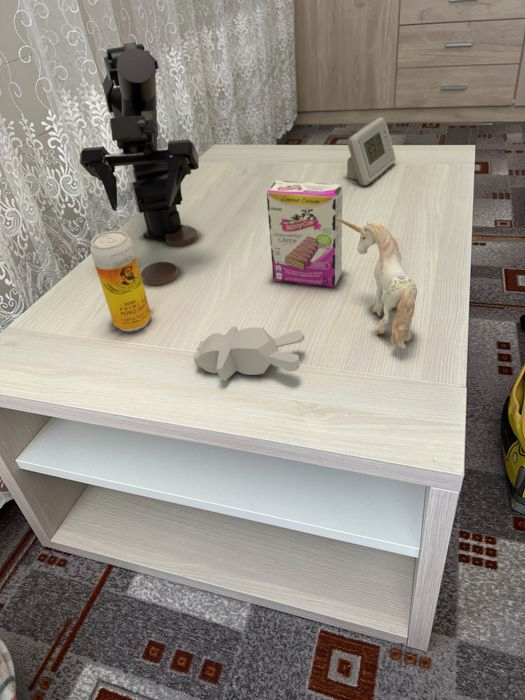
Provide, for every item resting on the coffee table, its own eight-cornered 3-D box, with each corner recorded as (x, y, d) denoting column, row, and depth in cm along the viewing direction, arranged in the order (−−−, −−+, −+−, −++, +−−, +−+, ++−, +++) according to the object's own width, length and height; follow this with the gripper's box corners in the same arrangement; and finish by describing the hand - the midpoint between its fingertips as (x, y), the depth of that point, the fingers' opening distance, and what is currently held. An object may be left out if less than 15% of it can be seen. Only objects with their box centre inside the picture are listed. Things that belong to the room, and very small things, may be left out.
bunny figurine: (202, 321, 81) (302, 313, 77) (211, 348, 84) (308, 342, 80) (184, 362, 74) (294, 357, 70) (195, 390, 77) (300, 386, 73)
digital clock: (364, 189, 122) (365, 140, 115) (332, 180, 127) (332, 133, 120) (407, 166, 130) (410, 119, 123) (375, 158, 135) (377, 113, 129)
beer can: (130, 338, 86) (104, 253, 76) (107, 325, 89) (79, 242, 80) (159, 319, 89) (138, 235, 80) (136, 307, 93) (113, 225, 83)
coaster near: (135, 281, 99) (133, 276, 98) (156, 264, 103) (155, 259, 103) (163, 288, 97) (162, 282, 96) (184, 270, 101) (183, 265, 100)
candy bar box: (272, 282, 95) (264, 191, 85) (281, 268, 99) (274, 179, 88) (336, 289, 92) (335, 196, 81) (342, 274, 95) (343, 182, 85)
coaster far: (159, 243, 110) (158, 238, 109) (178, 229, 114) (176, 224, 113) (186, 248, 107) (184, 243, 107) (203, 234, 112) (202, 228, 111)
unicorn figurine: (375, 281, 92) (378, 207, 84) (442, 347, 78) (455, 264, 69) (336, 292, 91) (335, 217, 82) (397, 361, 76) (404, 278, 68)
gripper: (65, 96, 85) (65, 193, 84) (183, 86, 84) (186, 184, 82) (92, 132, 96) (93, 218, 95) (197, 123, 95) (200, 210, 93)
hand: (141, 208), depth 91 cm, fingers open, 9 cm apart
